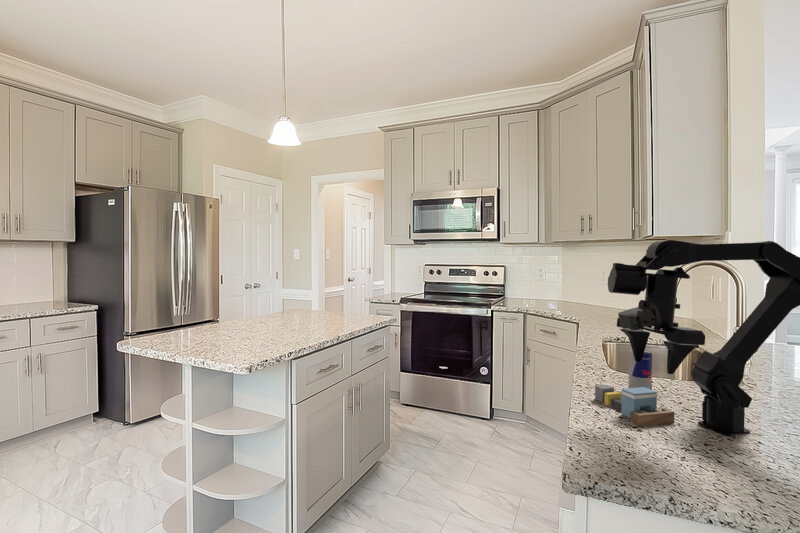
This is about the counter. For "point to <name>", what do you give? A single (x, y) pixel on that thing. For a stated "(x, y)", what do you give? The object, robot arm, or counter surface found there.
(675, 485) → the counter surface
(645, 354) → the energy drink
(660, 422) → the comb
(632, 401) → the sleeve
